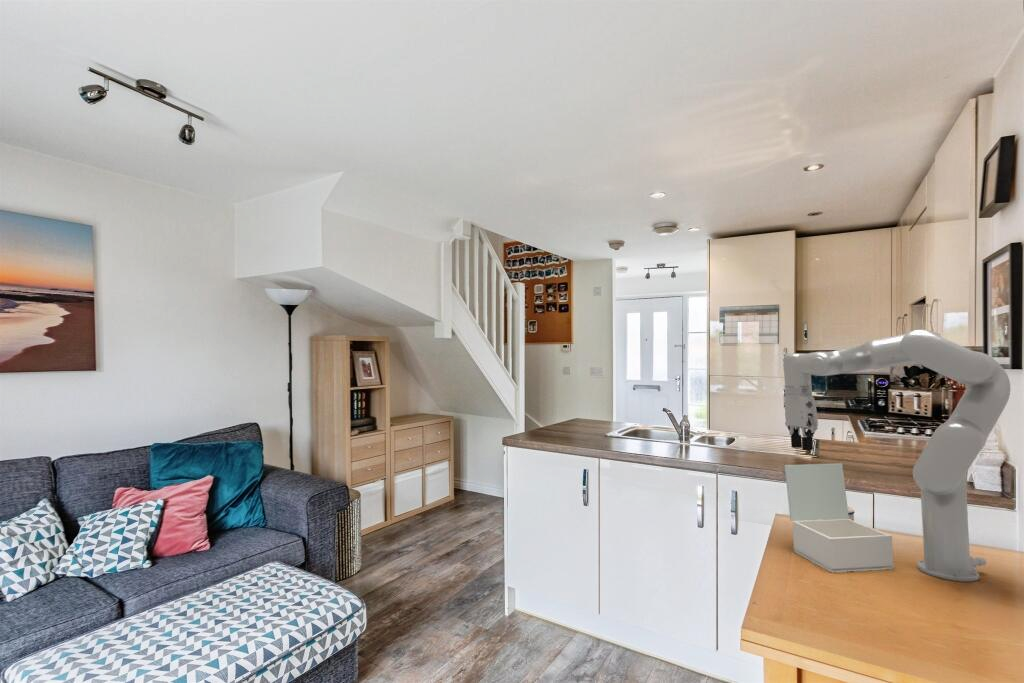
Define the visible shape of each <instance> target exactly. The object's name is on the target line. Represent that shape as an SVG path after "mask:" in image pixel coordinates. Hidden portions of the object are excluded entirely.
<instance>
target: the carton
mask: <svg viewBox="0 0 1024 683" xmlns="http://www.w3.org/2000/svg"><path fill="white" fill-rule="evenodd" d="M792 533H793V535H792V540H793V552H794V553H796V554H797V555H799V556H801V557H802V558H805V559H806V560H808V561H810V562H812V563H813V564H815V565H817V566H818V567H820V568H822V569H824V570H826V571H828V572H829V573H831V572H832V573H831V574H834V573H833V572H837V573H850V572H849V571H854V572H868V571H869V570H870V571H871V570H872V571H887V570H886V569H889V570H894V553H893V552H894V550H893V549H894V548H893V537H892V535H890V534H889V533H886V532H883V531H881V530H878V529H876V528H873V527H870V526H868V525H865V524H863V523H859V522H858V521H855V520H854V521H853V520H850V519H833V520H804V521H792ZM847 571H848V572H847ZM870 571H869V572H870Z"/></svg>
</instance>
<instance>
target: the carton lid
mask: <svg viewBox="0 0 1024 683" xmlns="http://www.w3.org/2000/svg"><path fill="white" fill-rule="evenodd" d="M843 468H844V467H843V463H841V462H839V463H837V462H836V463H835V462H834V463H813V464H809V463H808V464H785V465H784V467H783V468H782V472H781V473H782V474H783V475H785V483H786V484H785V485H786V490H787V491H786V492H787V501H788V509H789V510H788V511H789V512H788V513H789V521H792V522H793V521H811V520H825V519H847V518H849V515H848V507H849V506H848V501H847V500H848V499H847V493H846V485H845V483H846V482H845V476H844V469H843Z"/></svg>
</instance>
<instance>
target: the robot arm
mask: <svg viewBox="0 0 1024 683" xmlns="http://www.w3.org/2000/svg"><path fill="white" fill-rule="evenodd" d="M782 359H783V360H782V361H783V373H784V374H783V376H784V377H783V378H784V390H785V392H784V393H785V394H784V395H785V402H784V403H785V404H784V416H785V423H784V424H785V426H786V427H787V429H788V431H789V435H790V443H791V448H792V449H796V448H797V449H799V448H802V450H803V451H813V450H814V446H813V445H814V442H813V441H814V440H813V438H814V434H815V432H816V431H817V430H818V428H819V427H818V426H819V422H818V421H819V420H818V419H819V418H818V411H817V407H816V401H815V397H814V396H813V389H812V388H813V387H812V376H817V377H818V376H819V377H825V376H835V375H840V374H846V373H853V372H859V371H860V372H861V371H867V370H879V369H885V368H891V367H897V366H903V365H911V364H916V363H917V364H919V365H922V366H923V367H925V368H926V369H930V370H931V371H934V372H935V373H937V374H940V375H942V376H943V377H946V378H948V379H951V380H952V381H955V382H957V383H959V384H963V385H965V390H964V393H963V395H962V396H960V399H959V401H958V402H957V405H956V407H955V408H954V410H953V411H952V412H951V415H950V416H949V418H948V419H947V420H946V421H945V422H944V423H942V424H940V425H939V426H937V427H936V429H935V430H934V432H933V433H932V435H931V436H930V438H929V440H928V441H927V443H926V445H925V447H924V448H923V450H922V452H921V453H920V455H919V457H918V459H917V460H916V462H915V464H914V466H913V468H912V477H913V480H914V482H915V483H916V485H917V486H918V487H919V488H920V504H921V505H920V506H921V507H920V508H921V524H922V525H921V526H922V540H923V541H922V542H923V559H921V560H918V562H917V568H918V569H919V570H920V571H921V572H923V573H925V574H927V575H930V576H933V577H936V578H940V579H944V580H948V581H949V580H950V581H955V582H966V583H967V582H976V581H978V580H979V579H980V572H978V571H977V570H975V568H976V567H977V566H978V567H981V566H986V565H987V560H986V558H984V557H975V558H974V557H972V556H971V550H970V534H969V517H968V516H969V515H968V513H969V512H968V495H967V494H968V476H967V474H968V473H967V472H968V471H969V470H970V468H971V466H972V465H973V464H974V461H975V460H976V458H977V457H978V455H979V454H980V452H981V451H982V450H983V448H984V447H985V446H986V442H987V440H988V437H989V436H990V434H991V433H992V431H993V429H994V427H995V426H996V424H997V423H998V421H999V418H1000V416H1001V415H1002V414H1003V411H1004V410H1005V407H1006V406H1007V404H1008V402H1009V399H1010V395H1011V382H1010V378H1009V376H1008V373H1007V372H1006V370H1005V369H1004V367H1003V366H1002V365H1001V364H1000V363H999V362H998V361H997V360H996V359H994V358H993V357H991V355H989V354H987V353H985V352H981V351H976V350H975V351H974V350H972V349H969V348H967V347H965V346H962V345H960V344H958V343H955V342H953V341H951V340H949V339H946V338H944V337H942V335H940V334H939V333H937V332H935V331H933V330H929V329H922V328H921V329H920V328H919V329H915V330H914V329H913V330H911V331H909V332H907V333H903V334H898V335H897V334H896V335H893V336H888V337H882V338H877V339H872V340H869V341H866V342H864V343H862V344H861V345H856V346H853V347H849V348H844V349H838V350H833V351H832V350H831V351H814V352H809V353H802V352H801V353H799V352H797V353H787V354H785V355H784V356H783V358H782ZM801 433H802V435H801Z"/></svg>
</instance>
